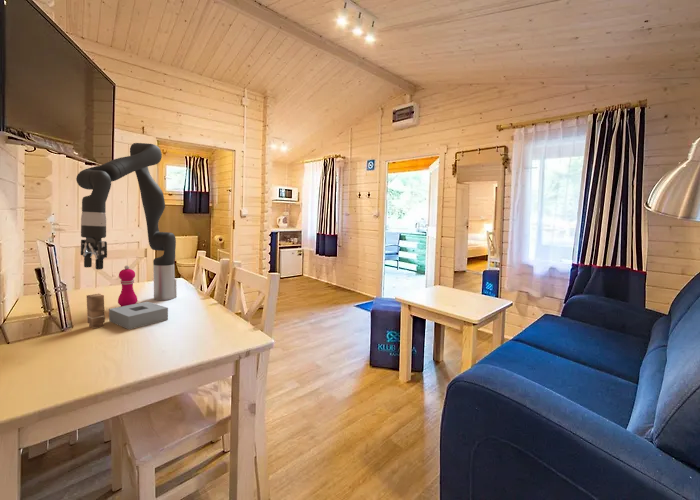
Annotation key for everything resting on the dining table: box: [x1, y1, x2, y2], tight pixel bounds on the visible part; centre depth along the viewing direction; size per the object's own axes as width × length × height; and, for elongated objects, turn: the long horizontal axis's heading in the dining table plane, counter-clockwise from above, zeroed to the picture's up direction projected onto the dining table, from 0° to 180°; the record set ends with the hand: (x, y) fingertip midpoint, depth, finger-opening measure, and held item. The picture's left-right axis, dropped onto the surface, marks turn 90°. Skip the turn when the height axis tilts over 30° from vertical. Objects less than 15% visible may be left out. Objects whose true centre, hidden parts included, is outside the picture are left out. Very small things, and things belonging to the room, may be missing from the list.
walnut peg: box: [86, 293, 106, 329], centre depth 130 cm, size 4×4×12 cm
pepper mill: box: [117, 265, 138, 307], centre depth 150 cm, size 7×7×20 cm
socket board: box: [108, 301, 169, 330], centre depth 139 cm, size 15×15×5 cm
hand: (93, 268), depth 128 cm, fingers open, 8 cm apart
